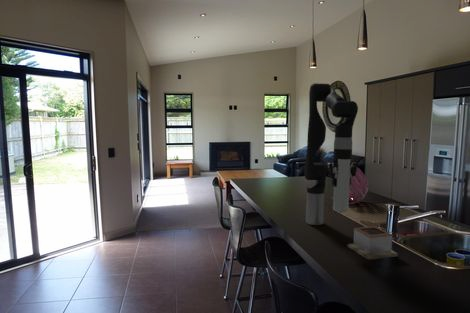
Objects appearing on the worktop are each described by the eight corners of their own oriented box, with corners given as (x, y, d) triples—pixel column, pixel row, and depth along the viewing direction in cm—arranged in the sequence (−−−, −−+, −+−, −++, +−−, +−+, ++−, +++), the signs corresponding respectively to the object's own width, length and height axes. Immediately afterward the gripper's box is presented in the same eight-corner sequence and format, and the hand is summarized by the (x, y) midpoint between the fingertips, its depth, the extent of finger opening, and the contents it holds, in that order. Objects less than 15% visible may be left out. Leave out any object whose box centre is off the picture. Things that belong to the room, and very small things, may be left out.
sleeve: (353, 245, 138) (354, 227, 137) (374, 242, 140) (374, 226, 139) (369, 254, 127) (370, 236, 127) (391, 252, 130) (392, 234, 129)
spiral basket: (317, 176, 209) (353, 154, 205) (318, 179, 236) (350, 160, 231) (341, 212, 201) (379, 190, 197) (340, 211, 228) (373, 192, 223)
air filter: (336, 206, 142) (338, 152, 139) (350, 209, 138) (353, 153, 135) (330, 209, 137) (332, 153, 134) (345, 212, 133) (347, 154, 130)
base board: (347, 246, 139) (347, 243, 139) (374, 243, 142) (374, 241, 142) (368, 259, 125) (368, 256, 125) (397, 256, 129) (397, 253, 129)
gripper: (352, 146, 140) (350, 183, 141) (323, 147, 136) (322, 185, 138) (362, 148, 132) (361, 187, 134) (332, 148, 129) (331, 188, 131)
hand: (341, 186), depth 136 cm, fingers closed on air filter, 5 cm apart
